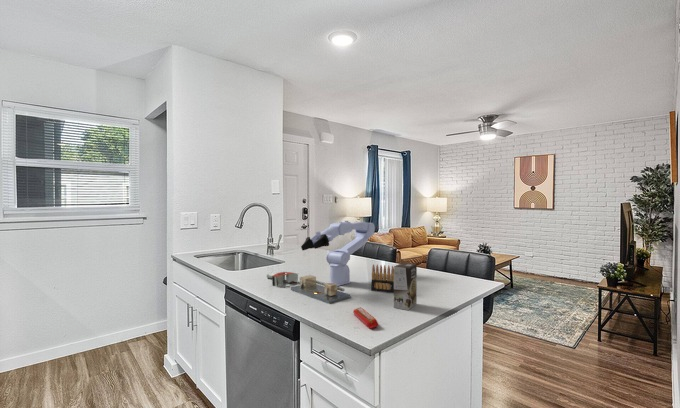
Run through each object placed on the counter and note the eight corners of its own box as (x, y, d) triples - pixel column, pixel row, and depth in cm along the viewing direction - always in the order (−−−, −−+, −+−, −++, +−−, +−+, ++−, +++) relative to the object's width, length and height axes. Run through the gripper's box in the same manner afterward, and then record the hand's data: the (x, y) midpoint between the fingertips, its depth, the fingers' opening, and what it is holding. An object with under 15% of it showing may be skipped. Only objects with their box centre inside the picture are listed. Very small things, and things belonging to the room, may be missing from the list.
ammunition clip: (371, 290, 152) (370, 264, 152) (372, 289, 154) (372, 263, 154) (394, 293, 148) (394, 266, 148) (395, 292, 150) (395, 265, 150)
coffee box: (409, 310, 126) (409, 267, 125) (393, 307, 129) (393, 266, 129) (417, 304, 133) (417, 263, 133) (402, 301, 137) (401, 261, 136)
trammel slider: (331, 292, 145) (331, 282, 145) (337, 294, 142) (337, 284, 142) (323, 294, 142) (323, 284, 142) (329, 296, 139) (329, 286, 139)
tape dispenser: (268, 280, 179) (259, 288, 159) (267, 270, 179) (259, 277, 159) (301, 278, 179) (297, 286, 159) (300, 268, 180) (296, 274, 160)
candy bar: (351, 314, 123) (351, 306, 123) (361, 313, 124) (361, 305, 124) (369, 331, 108) (369, 322, 107) (380, 329, 109) (380, 320, 109)
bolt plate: (311, 285, 162) (311, 282, 162) (350, 297, 142) (350, 294, 142) (290, 289, 154) (290, 287, 154) (329, 303, 134) (328, 300, 134)
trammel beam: (310, 283, 160) (310, 275, 160) (345, 294, 142) (345, 284, 142) (298, 286, 156) (298, 277, 155) (333, 298, 138) (332, 287, 138)
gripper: (312, 230, 162) (293, 241, 151) (335, 225, 153) (316, 236, 142) (317, 243, 163) (299, 255, 152) (340, 240, 153) (322, 252, 143)
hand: (308, 247), depth 147 cm, fingers open, 7 cm apart
